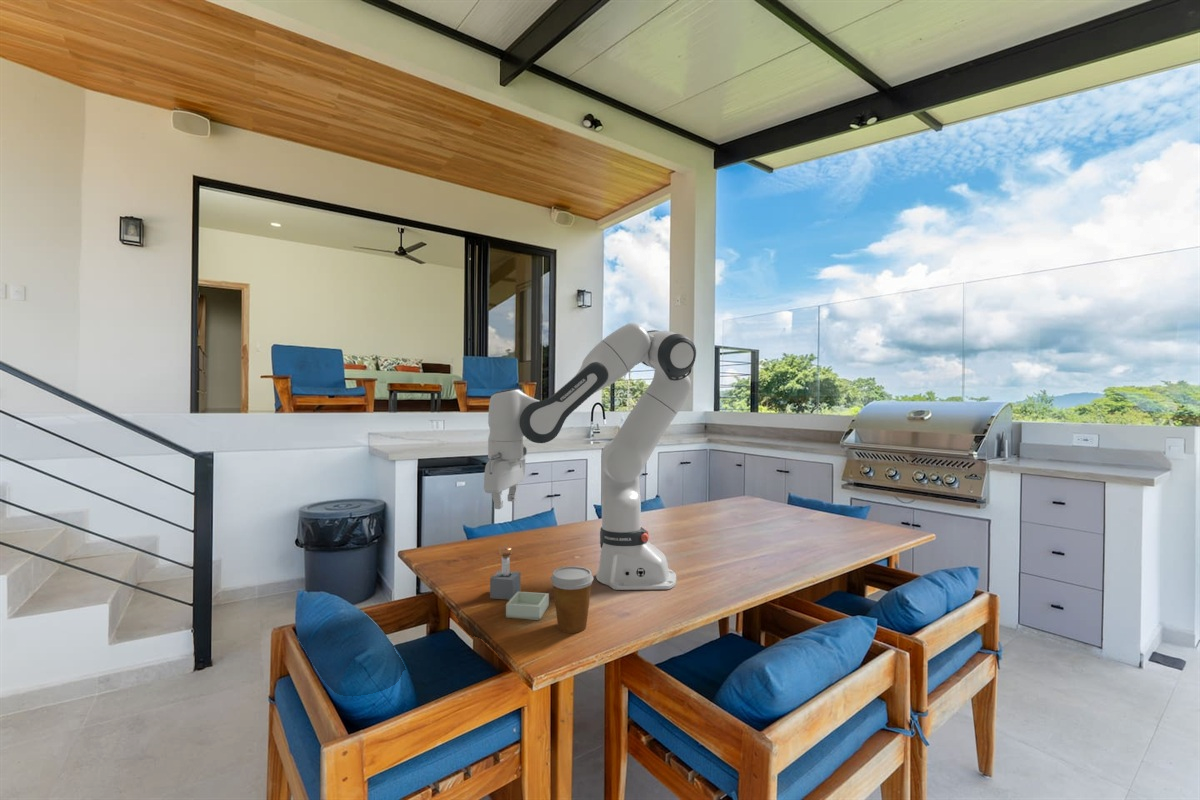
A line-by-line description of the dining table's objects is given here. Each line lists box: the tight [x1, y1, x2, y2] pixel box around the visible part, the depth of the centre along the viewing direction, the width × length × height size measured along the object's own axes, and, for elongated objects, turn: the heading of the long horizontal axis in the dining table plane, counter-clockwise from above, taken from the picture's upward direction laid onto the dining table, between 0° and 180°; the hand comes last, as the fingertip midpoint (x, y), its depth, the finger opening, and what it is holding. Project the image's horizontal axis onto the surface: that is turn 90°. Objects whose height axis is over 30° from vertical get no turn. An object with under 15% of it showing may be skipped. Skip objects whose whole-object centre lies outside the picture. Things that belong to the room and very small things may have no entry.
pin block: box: [489, 570, 522, 601], centre depth 129 cm, size 6×6×5 cm
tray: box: [505, 591, 550, 621], centre depth 119 cm, size 8×8×3 cm
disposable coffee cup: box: [550, 565, 595, 634], centre depth 111 cm, size 10×10×12 cm
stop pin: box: [498, 545, 513, 577], centre depth 129 cm, size 3×3×12 cm
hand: (505, 504), depth 130 cm, fingers open, 8 cm apart
